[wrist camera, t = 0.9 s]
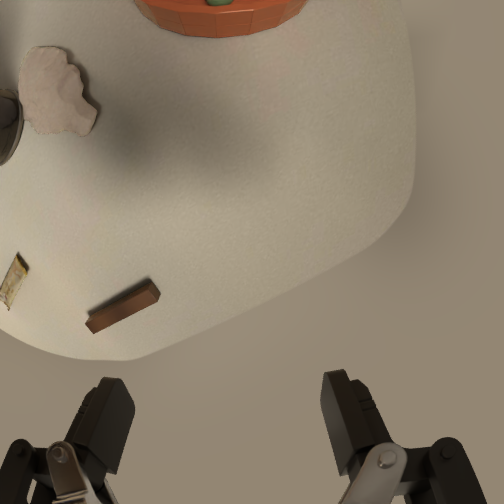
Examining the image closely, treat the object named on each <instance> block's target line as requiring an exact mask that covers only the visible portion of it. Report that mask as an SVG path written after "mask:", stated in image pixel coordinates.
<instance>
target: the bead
mask: <svg viewBox="0 0 504 504" xmlns="http://www.w3.org/2000/svg"><path fill="white" fill-rule="evenodd" d="M205 1H206V2H207V4H208V5H210V6H224V5H230V4H231V3H232V2H233V0H205Z"/></svg>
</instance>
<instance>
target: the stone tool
mask: <svg viewBox="0 0 504 504" xmlns="http://www.w3.org/2000/svg"><path fill="white" fill-rule="evenodd" d="M83 86H84V85H83V83H82V82H81V79H80V71H79V69H78V68H77V67H76V66H75V65H74V64H73V65H69V64H68V63H67V56H66V52H64V51H63V50H59V49H58V48H57V47H49V46H48V47H44V48H41V47H33V48H32V49H31V50H30V51H29V52H28V53H27V55H26V56H25V58H24V59H23V61H22V64H21V67H20V78H19V81H18V92H19V100H20V102H21V104H22V105H23V116H24V120H27V121H29V122H31V127H33V128H34V129H35V131H36V132H37V133H38V134H49V133H53V134H58V133H60V132H61V131H63V130H67V131H70V132H74V133H77V135H78V136H80V137H81V136H86V135H87V134H88V133H89V132H90V131H91V129H92V126H93V123H94V121H95V118H96V114H97V111H96V109H95V108H93V107H92V106H91V105H90V104H89V103H87V102H86V100H85V99H84V98H82V91H83Z"/></svg>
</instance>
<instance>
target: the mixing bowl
mask: <svg viewBox="0 0 504 504" xmlns="http://www.w3.org/2000/svg"><path fill="white" fill-rule="evenodd" d="M308 1H309V0H233V2H232V3H231V4H230V5H224V6H210V5H208V4H207V2H206V1H205V0H134V2H135V3H136V5H137V6H138V8H139V9H140V11H141V12H142V14H143V15H144V16H146V17H147V18H148V19H150V20H151V21H153V22H154V23H155V24H157V25H158V26H159V27H161V28H164V29H167V30H171V31H174V32H177V33H180V34H183V35H188V36H202V37H213V38H221V37H229V36H240V35H250V34H253V33H256V32H259V31H263V30H266V29H269V28H273V27H277V26H278V25H280V24H282V23H283V22H285V21H287V20H288V19H290V18H292V17H293V16H295V15H297V14H298V13H299V12H300V11H301V10H302V8H303V7H304V6H305V5H306V3H307V2H308Z"/></svg>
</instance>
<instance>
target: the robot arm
mask: <svg viewBox="0 0 504 504" xmlns="http://www.w3.org/2000/svg"><path fill="white" fill-rule="evenodd" d="M23 118H24V116H23V105H22V104H21V102H20V100H19V94H18V93H17V92H16V91H14V90H9V89H5V90H3V89H0V166H2V165H3V164H5V163H6V162H7V161H8V160H9V158H10V157H11V156H12V154H13V152H14V151H15V149H16V146H17V144H18V142H19V139H20V135H21V131H22V127H23ZM320 401H321V409H322V413H323V416H324V420H325V423H326V427H327V431H328V434H329V438H330V442H331V445H332V448H333V452H334V456H335V460H336V464H337V467H338V471H339V475H340V476H344V475H349V479H350V484H349V485H348V487H347V489H346V491H345V492H344V494H343V496H342V498H341V499H340V501H339V503H338V504H390V503H391V502H392V499H393V497H394V496H398V495H404V499H405V502H406V504H487V502H486V499H485V497H484V494H483V492H482V489H481V487H480V484H479V482H478V479H477V477H476V475H475V472H474V470H473V468H472V466H471V463H470V461H469V459H468V457H467V455H466V453H465V450H464V448H463V446H462V444H461V443H460V442H459V441H458V440H456V439H455V438H451V437H445V438H441V439H439V440H437V441H436V442H435V443H434V444H433V445H432V446H431V447H423V448H413V449H408V448H403V447H401V446H400V445H398V444H396V443H394V442H393V440H392V439H391V437H390V435H389V433H388V431H387V428H386V426H385V424H384V422H383V420H382V417H381V415H380V413H379V411H378V409H377V408H376V404H375V402H374V400H372V396H371V394H370V392H369V390H368V388H367V387H366V386H365V385H364V384H363V383H362V382H361V381H359V380H358V379H357V380H352V381H350V380H349V378H348V376H347V373H346V371H345V370H344V369H340V370H336V371H330V372H325V373H324V376H323V383H322V390H321V399H320ZM134 415H135V405H134V402H133V400H132V398H131V396H130V394H129V393H128V390H127V388H126V386H125V384H124V382H123V381H122V380H121V379H119V378H110V377H103V378H102V379H101V381H100V383H99V385H98V387H97V388H96V387H94V388H93V389H92V390H91V391H90V392H89V393H88V394H87V395H86V396H85V398H84V400H83V402H82V406H80V408H79V410H78V413H77V414H76V416H75V418H74V420H73V422H72V424H71V426H70V429H69V431H68V433H67V435H66V437H65V439H64V440H63V441H58V442H55V443H53V444H52V445H51V446H49V448H35V447H33V446H32V445H31V444H30V443H29V442H28V441H26V440H24V439H18V440H15V441H14V442H13V443H12V444H11V446H10V448H9V450H8V452H7V454H6V457H5V459H4V462H3V464H2V466H1V469H0V504H28V502H27V495H28V491H29V488H30V485H31V482H32V479H34V480H35V481H37V483H36V487H35V490H34V493H33V496H32V500H31V503H30V504H118V502H117V500H116V498H115V496H114V494H113V492H112V490H111V488H110V486H109V484H108V481H107V480H106V478H105V476H106V472H107V473H112V474H115V475H116V474H117V470H118V466H119V463H120V459H121V456H122V453H123V450H124V446H125V443H126V440H127V436H128V433H129V430H130V427H131V424H132V421H133V418H134Z"/></svg>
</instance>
